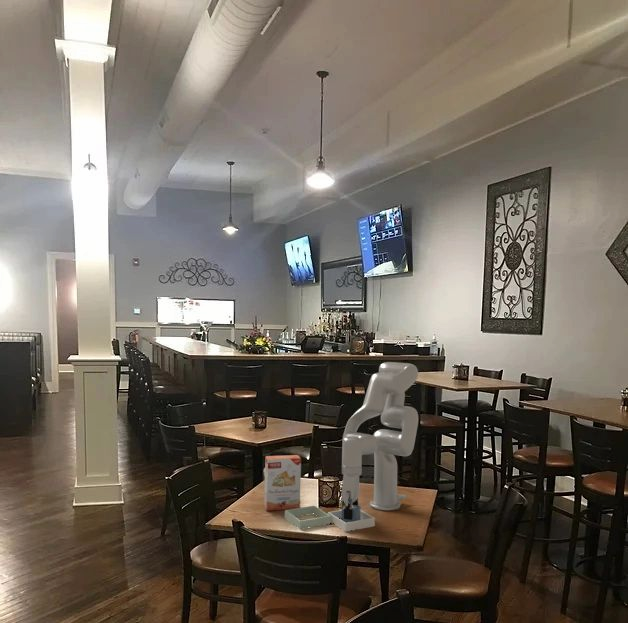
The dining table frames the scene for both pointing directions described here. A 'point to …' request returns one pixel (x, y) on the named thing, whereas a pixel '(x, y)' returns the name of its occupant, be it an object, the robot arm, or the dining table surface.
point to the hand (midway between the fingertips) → (351, 514)
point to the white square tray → (364, 523)
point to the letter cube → (355, 514)
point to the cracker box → (282, 482)
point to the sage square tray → (322, 519)
